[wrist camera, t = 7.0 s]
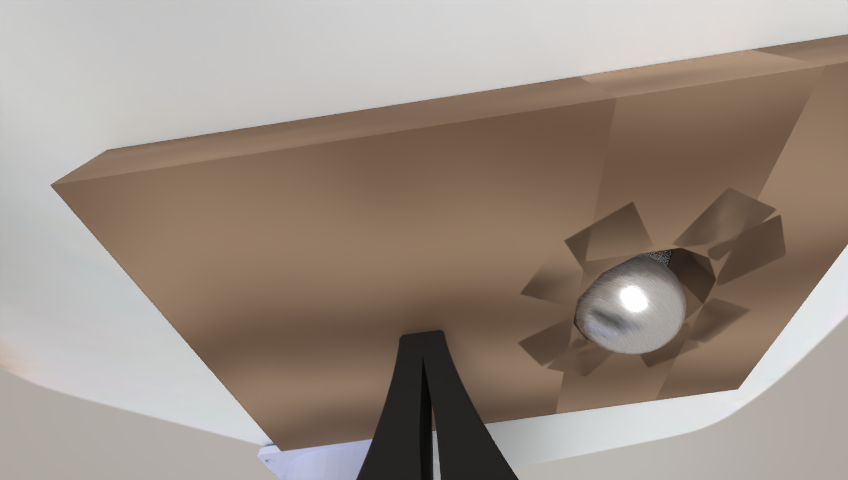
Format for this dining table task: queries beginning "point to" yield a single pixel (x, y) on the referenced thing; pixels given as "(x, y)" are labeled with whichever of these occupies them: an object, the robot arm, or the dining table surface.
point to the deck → (488, 235)
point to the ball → (632, 307)
